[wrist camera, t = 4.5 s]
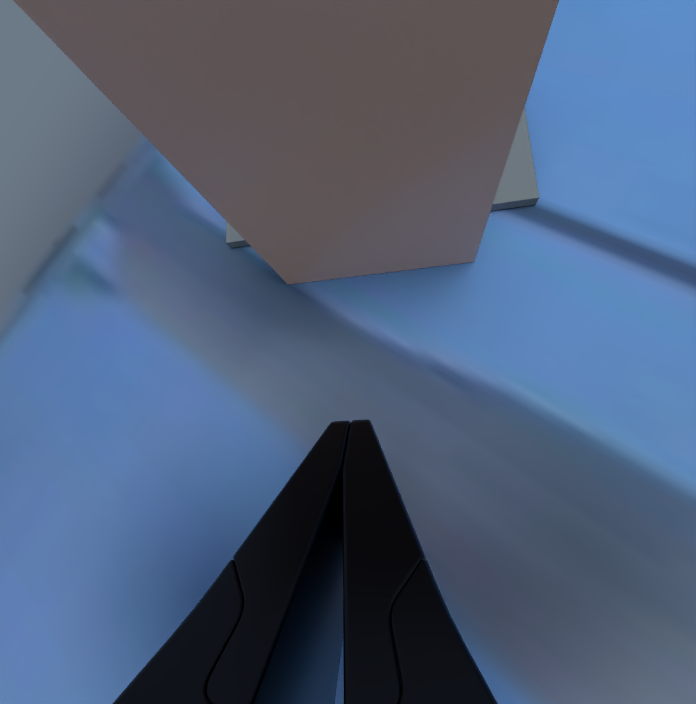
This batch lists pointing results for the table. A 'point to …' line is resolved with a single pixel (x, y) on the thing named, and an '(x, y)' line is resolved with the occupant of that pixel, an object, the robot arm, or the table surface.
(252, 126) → the tile
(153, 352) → the table surface
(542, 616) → the table surface
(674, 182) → the table surface
